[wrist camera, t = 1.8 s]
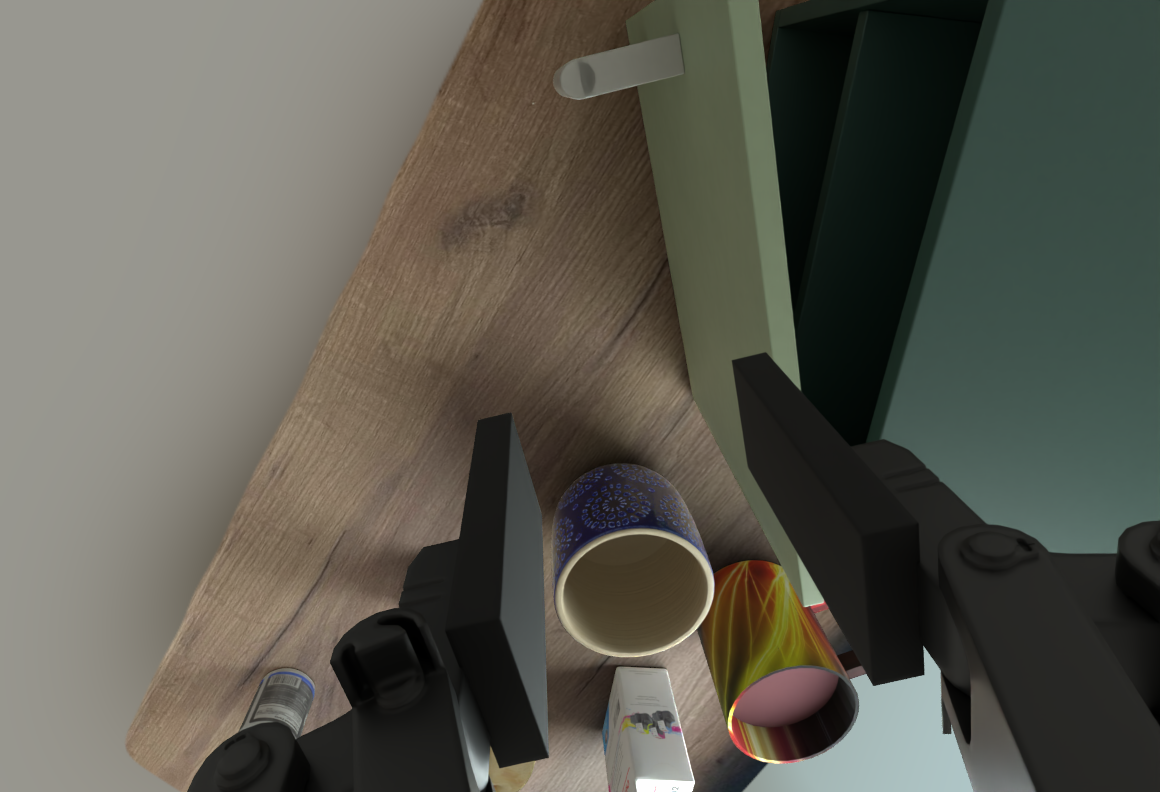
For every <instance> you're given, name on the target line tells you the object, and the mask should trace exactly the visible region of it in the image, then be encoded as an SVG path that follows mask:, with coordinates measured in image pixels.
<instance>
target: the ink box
mask: <svg viewBox="0 0 1160 792" xmlns="http://www.w3.org/2000/svg"><path fill="white" fill-rule="evenodd" d="M602 735H603V744H604V753H605V761H606V770H607V779H608V786H609V792H692V789H693V786H694V782H695V781H694V777H693V774H692V770H691V766H690V762H689V758H688V754H687V750H686V745H685V742H684V737H683V734H682V730H681V725H680V721H679V717H678V713H677V709H676V704H675V701H674V696H673V692H672V688H671V684H670V680H669V676H668V672H667V669H660V668H638V667H617V668H616V672H615V676H614V681H613V685H612V690H611V694H610V699H609V703H608V708H607V712H606V717H605V722H604V726H603V731H602Z"/></svg>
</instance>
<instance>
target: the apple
mask: <svg viewBox="0 0 1160 792" xmlns="http://www.w3.org/2000/svg"><path fill="white" fill-rule="evenodd" d="M534 764H535V761H531V762H527V763H522V764H518V765H513V766H509V767H504V768H499V766H498V763H497V761H496V758H495V756H494V753H493V751H492V748H491V746H490V759H489V776H490V778H491V781H492V783H493V786H494V788H495V790H496V792H518V791H519V790H520V789H521V788H522V787H523V786H524V785H525V784H526V783H527V781H528V779H529V778H530V776H531V774H532V771H533V768H534Z"/></svg>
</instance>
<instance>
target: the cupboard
mask: <svg viewBox="0 0 1160 792" xmlns="http://www.w3.org/2000/svg"><path fill="white" fill-rule="evenodd" d="M766 73H767V83H768V92H769V101H770V110H771V119H772V128H773V138H774V147H775V156H776V165H777V174H778V183H779V193H780V202H781V211H782V220H783V229H784V238H785V248H786V257H787V266H788V275H789V284H790V293H791V302H792V312H793V321H794V330H795V339H796V348H797V357H798V367H799V376H800V385H801V392H802V393H803V394H804V395H805V396H806V397H807V399H808V400H809V401H810V402H811V403H812V404H813V405H814V406H815V408H816V409H817V410H818V411H819V412H820V413H821V414H822V415H823V416H824V418H825V419H826V420H827V421H828V422H829V423H830V424H831V425H832V427H833V428H834V429H835V430H836V431H837V432H838V433H839V434H840V435H841V437H842V438H843V439H844V440H845V441H846V442H847V443H848V444H849V446H850V447H851V446H855V445H859V444H864V443H868V442H872V441H877V440H881V439H885V440H888V441H890V442H892V443H895V444H897V445H899V446H902V447H904V448H906V449H909V450H910V451H911V452H912V453H913V454H914V455H915V456H916V457H917V458H918V459H920V460H921V461H922V462H923V463H924V464H925V465H926V468H927V469H928V468H929V469H930V470H931V471H932V472H933V473H934V474H935V475H936V476H937V477H938V478H939V480H940V482H942V481H943V482H944V483H945V484H946V485H947V486H948V487H949V488H950V489H951V490H952V491H953V492H954V493H955V494H956V495H957V496H958V497H959V498H960V499H961V500H963V501H964V502H965V503H966V504H967V505H968V506H969V507H970V508H971V509H972V510H973V511H974V512H975V513H976V514H977V515H978V516H979V517H980V518H981V519H982V520H983V521H985V522H986V523H987V524H992V525H1001V526H1005V527H1009V528H1013V529H1017V530H1020V531H1022V532H1024V533H1026V534H1028V535H1030V536H1032V537H1034V538H1036V539H1037V540H1038V541H1039V542H1040V543H1041V544H1042V545H1043V546H1044V547H1045V548H1046V549H1047V550H1048V551H1049V552H1053V553H1069V554H1071V553H1117V547H1118V538H1119V537H1120V536H1121V534H1122V533H1123V532H1124V531H1125V530H1126V528H1128V527H1131V526H1134V525H1136V524H1139V523H1141V522H1147V521H1158V520H1160V0H809V1H806V2H803V3H800V4H797V5H793V6H790V7H787V8H784V9H781V10H778V11H776V14H775V20H774V26H773V31H772V37H771V43H770V49H769V54H768V60H767V66H766Z"/></svg>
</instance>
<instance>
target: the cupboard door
mask: <svg viewBox="0 0 1160 792" xmlns="http://www.w3.org/2000/svg"><path fill="white" fill-rule="evenodd" d="M626 27H627V32H628V38H629V44H630V45H628V46H624V47H620V48H616V49H612V50H609V51H605V52H601V53H597V54H593V55H589V56H585V57H581V58H577V59H573V60H571V61H569V62H568V63H566V64H565V65H563V66H562V67H560V68H559V69H558V70H557V71H556V72H555V74H554V77H553V85H554V88H555V90H556V91H557V93H558V94H560V95H561V96H564V97H568V98H572V99H576V100H581V99H586V98H590V97H594V96H598V95H602V94H606V93H610V92H614V91H618V90H622V89H626V88H630V87H634V86H637V88H638V94H639V99H640V105H641V111H642V116H643V122H644V127H645V133H646V139H647V144H648V150H649V155H650V161H651V167H652V172H653V178H654V183H655V189H656V194H657V200H658V206H659V211H660V217H661V222H662V228H663V234H664V239H665V245H666V250H667V256H668V262H669V267H670V273H671V278H672V284H673V289H674V295H675V301H676V306H677V312H678V317H679V323H680V329H681V334H682V340H683V345H684V351H685V357H686V362H687V368H688V373H689V379H690V384H691V390H692V396H693V399H694V401H695V403H696V404H697V406H698V408H699V410H700V412H701V414H702V416H703V418H704V420H705V422H706V423H707V425H708V427H709V429H710V431H711V433H712V435H713V437H714V439H715V441H716V442H717V444H718V446H719V448H720V450H721V452H722V454H723V456H724V458H725V460H726V461H727V463H728V465H729V467H730V469H731V471H732V473H733V475H734V477H735V479H736V480H737V482H738V484H739V486H740V488H741V490H742V492H743V494H744V496H745V498H746V499H747V501H748V503H749V505H750V507H751V509H752V511H753V513H754V515H755V517H756V518H757V520H758V522H759V524H760V526H761V528H762V530H763V532H764V534H765V536H766V537H767V539H768V541H769V543H770V545H771V547H772V549H773V551H774V553H775V554H776V556H777V558H778V560H779V562H780V564H781V566H782V568H783V570H784V572H785V573H786V575H787V577H788V579H789V581H790V583H791V585H792V587H793V589H794V591H795V592H796V594H797V596H798V598H799V600H800V602H801V604H802V606H803V607H807V606H812V605H816V604H821V603H824V599H823V597H822V596H821V594H820V592H819V590H818V589H817V587H816V585H815V583H814V582H813V580H812V578H811V576H810V575H809V573H808V571H807V569H806V568H805V566H804V564H803V562H802V561H801V559H800V557H799V556H798V554H797V552H796V550H795V549H794V547H793V545H792V543H791V542H790V540H789V538H788V536H787V535H786V533H785V531H784V529H783V528H782V526H781V524H780V522H779V521H778V519H777V517H776V515H775V514H774V512H773V510H772V509H771V507H770V505H769V503H768V502H767V500H766V498H765V496H764V495H763V493H762V491H761V489H760V488H759V486H758V484H757V482H756V481H755V479H754V477H753V475H752V474H751V472H750V470H749V469H748V466H747V459H746V453H745V446H744V439H743V433H742V426H741V419H740V413H739V406H738V400H737V393H736V386H735V380H734V373H733V366H732V360H735V359H739V358H743V357H747V356H751V355H756V354H760V353H764V352H766V353H767V354H768V355H769V356H770V357H771V358H772V359H773V361H774V362H775V363H776V364H777V365H778V366H779V367H780V368H781V369H782V371H783V372H784V373H785V374H786V375H787V376H788V377H789V378H790V380H791V381H792V382H793V383H794V384H795V385H796V386H797V387H798V388H799V390H800V391H801V385H800V376H799V367H798V357H797V348H796V339H795V330H794V321H793V312H792V302H791V293H790V284H789V275H788V266H787V257H786V248H785V238H784V229H783V220H782V211H781V202H780V193H779V183H778V174H777V165H776V156H775V147H774V138H773V128H772V119H771V110H770V101H769V92H768V83H767V73H766V64H765V55H764V46H763V37H762V28H761V18H760V9H759V0H655V1H653V2H652V3H650V4H649V5H648V6H646V7H645V8H643V9H642V10H640V11H639V12H638V13H636V14H635V15H633V16H632V17H630V18H629V19H628V20H626Z"/></svg>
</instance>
